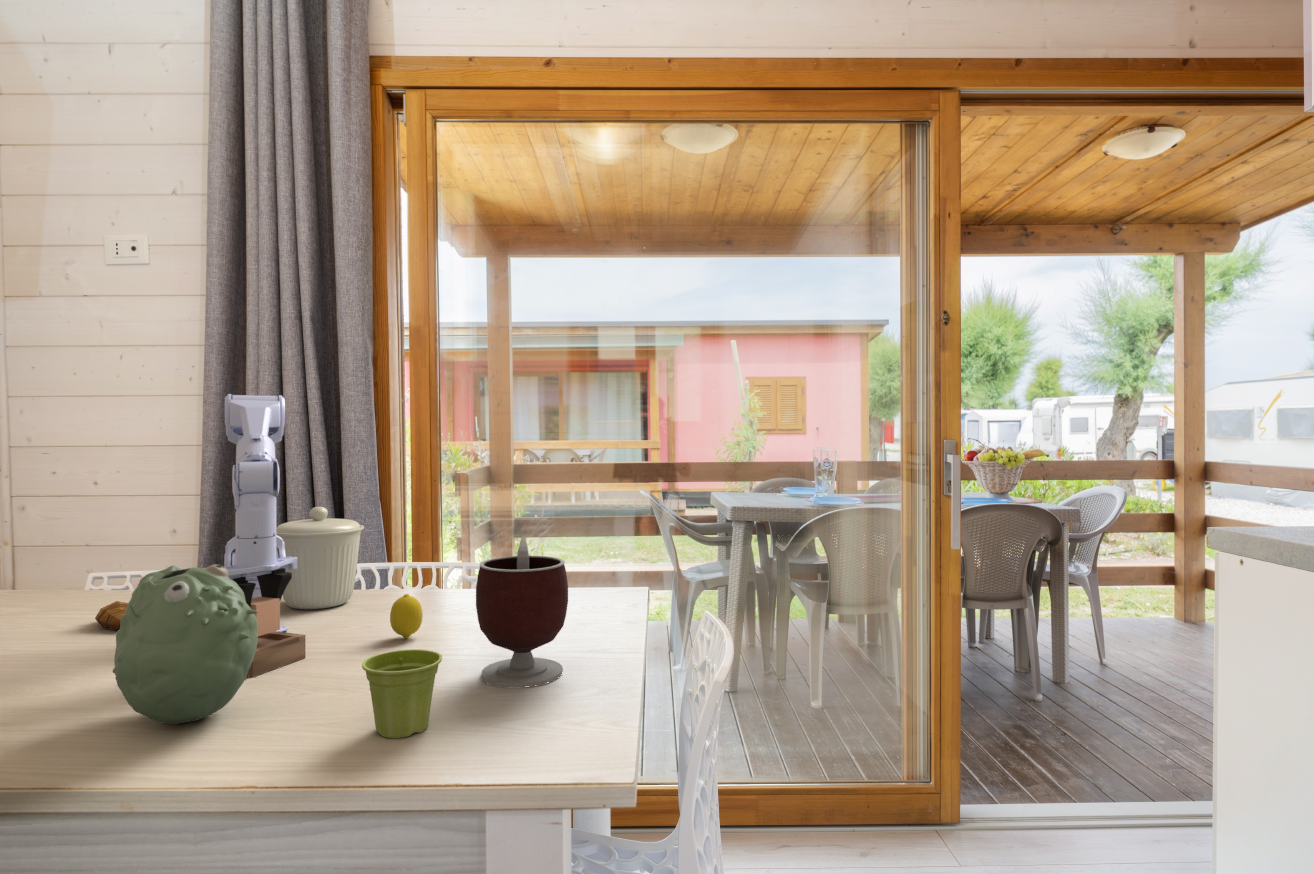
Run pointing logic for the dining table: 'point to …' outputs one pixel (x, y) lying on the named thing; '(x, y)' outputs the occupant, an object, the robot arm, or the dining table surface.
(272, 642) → the walnut base
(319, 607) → the canister
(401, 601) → the lemon
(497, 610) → the mate gourd
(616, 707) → the dining table surface
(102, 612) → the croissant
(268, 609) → the block
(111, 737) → the dining table surface
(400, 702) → the plant pot
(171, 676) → the green pufferfish toy
